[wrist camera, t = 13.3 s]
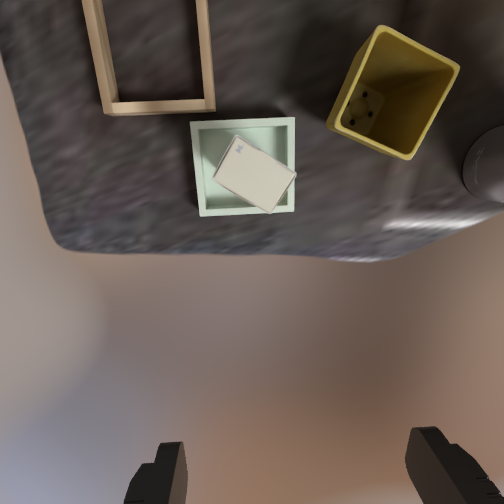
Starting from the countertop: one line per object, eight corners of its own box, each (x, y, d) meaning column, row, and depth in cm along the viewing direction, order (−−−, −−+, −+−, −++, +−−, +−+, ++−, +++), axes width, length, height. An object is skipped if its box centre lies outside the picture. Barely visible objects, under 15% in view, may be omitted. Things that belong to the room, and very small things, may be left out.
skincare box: (216, 169, 35) (206, 178, 24) (234, 137, 34) (232, 130, 23) (260, 196, 37) (270, 217, 25) (278, 166, 35) (298, 173, 24)
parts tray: (290, 119, 34) (294, 117, 32) (290, 207, 38) (294, 211, 35) (193, 123, 34) (189, 121, 31) (202, 211, 38) (199, 216, 35)
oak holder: (205, -28, 29) (202, -44, 27) (216, 111, 34) (214, 108, 31) (86, -25, 29) (73, -41, 27) (113, 116, 33) (103, 113, 31)
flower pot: (371, 159, 36) (411, 162, 28) (309, 132, 35) (332, 126, 26) (406, 87, 34) (463, 65, 25) (342, 55, 32) (379, 20, 24)
